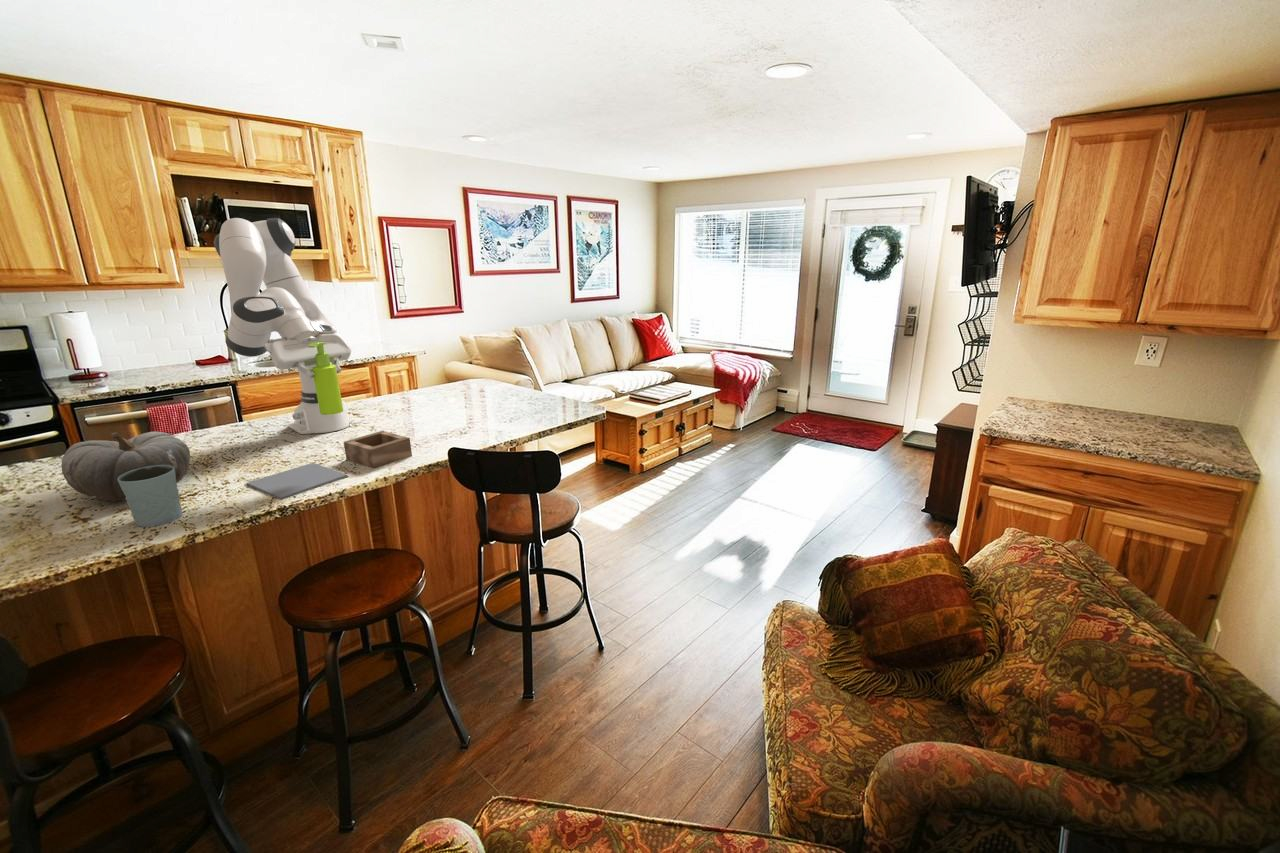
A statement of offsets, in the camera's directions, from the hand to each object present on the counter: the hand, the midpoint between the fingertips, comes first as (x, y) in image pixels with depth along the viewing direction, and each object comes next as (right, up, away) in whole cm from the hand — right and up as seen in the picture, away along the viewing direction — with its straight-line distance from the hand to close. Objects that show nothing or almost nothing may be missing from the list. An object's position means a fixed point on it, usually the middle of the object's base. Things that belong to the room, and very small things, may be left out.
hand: (325, 374), depth 154 cm
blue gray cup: (-27, -37, -22) cm, 51 cm away
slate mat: (-8, -30, 0) cm, 31 cm away
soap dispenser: (0, -11, +3) cm, 11 cm away
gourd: (-47, -32, -6) cm, 57 cm away
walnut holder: (+7, -24, +17) cm, 31 cm away
